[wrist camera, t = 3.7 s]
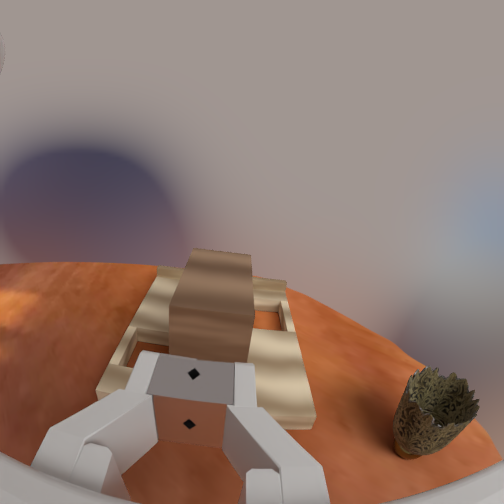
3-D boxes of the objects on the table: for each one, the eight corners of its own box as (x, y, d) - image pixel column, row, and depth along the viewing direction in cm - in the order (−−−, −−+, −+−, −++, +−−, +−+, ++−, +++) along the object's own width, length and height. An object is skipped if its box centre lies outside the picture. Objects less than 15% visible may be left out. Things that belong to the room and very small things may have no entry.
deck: (310, 429, 25) (321, 405, 24) (99, 403, 24) (92, 378, 23) (281, 300, 50) (285, 280, 49) (158, 285, 48) (158, 265, 47)
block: (238, 409, 25) (255, 315, 21) (170, 401, 24) (169, 305, 21) (239, 333, 36) (250, 254, 33) (188, 327, 36) (193, 248, 32)
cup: (442, 435, 24) (480, 380, 21) (430, 486, 18) (480, 431, 15) (385, 413, 28) (416, 356, 25) (363, 461, 22) (401, 403, 19)
